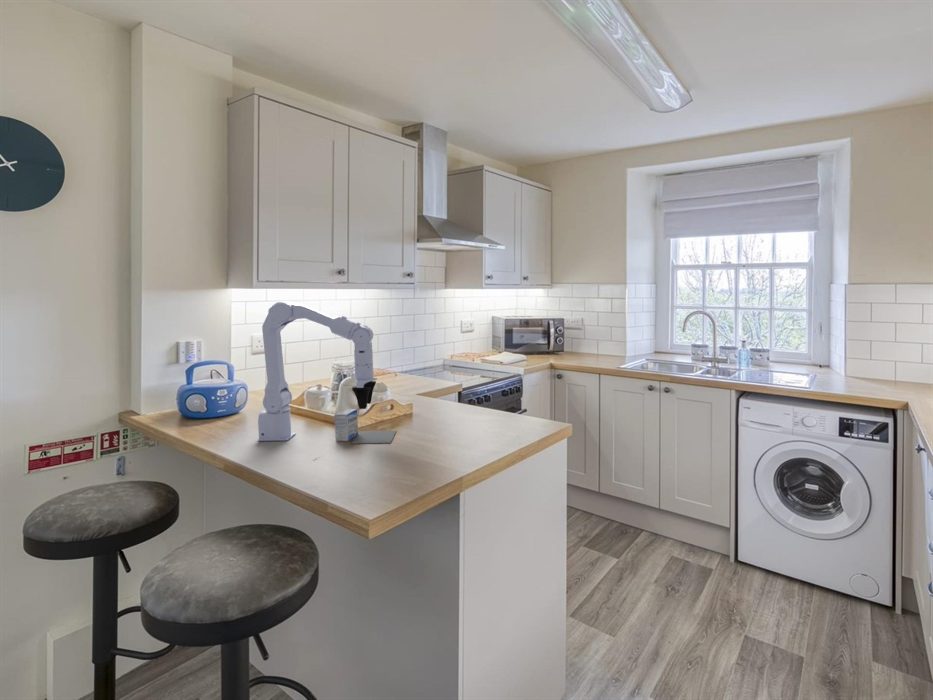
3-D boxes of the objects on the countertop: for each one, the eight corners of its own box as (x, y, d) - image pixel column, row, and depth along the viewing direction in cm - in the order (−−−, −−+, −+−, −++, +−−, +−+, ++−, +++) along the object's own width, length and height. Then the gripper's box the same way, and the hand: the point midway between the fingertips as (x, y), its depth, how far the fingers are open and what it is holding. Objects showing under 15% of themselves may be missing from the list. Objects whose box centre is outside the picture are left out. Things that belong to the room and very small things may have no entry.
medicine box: (348, 441, 161) (347, 414, 160) (335, 441, 162) (334, 414, 161) (358, 434, 169) (357, 409, 168) (345, 434, 169) (344, 408, 168)
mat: (351, 444, 158) (351, 443, 158) (360, 431, 172) (360, 431, 172) (390, 443, 158) (390, 442, 158) (396, 431, 172) (396, 430, 172)
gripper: (372, 367, 156) (373, 411, 158) (380, 361, 171) (381, 401, 172) (349, 367, 156) (350, 411, 158) (358, 361, 171) (360, 401, 172)
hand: (365, 406), depth 165 cm, fingers open, 7 cm apart
